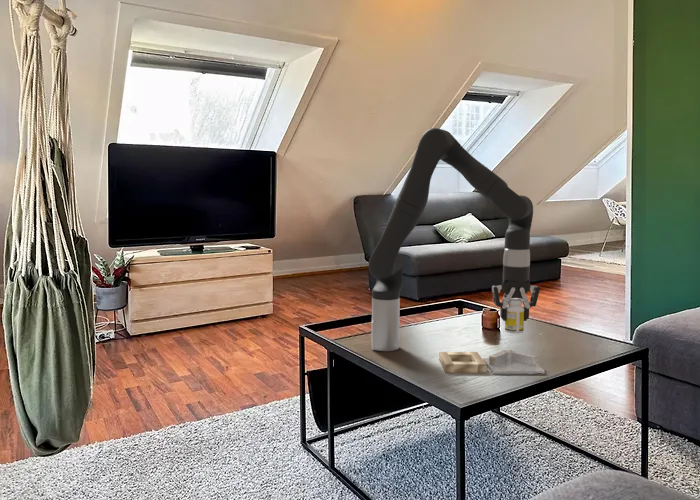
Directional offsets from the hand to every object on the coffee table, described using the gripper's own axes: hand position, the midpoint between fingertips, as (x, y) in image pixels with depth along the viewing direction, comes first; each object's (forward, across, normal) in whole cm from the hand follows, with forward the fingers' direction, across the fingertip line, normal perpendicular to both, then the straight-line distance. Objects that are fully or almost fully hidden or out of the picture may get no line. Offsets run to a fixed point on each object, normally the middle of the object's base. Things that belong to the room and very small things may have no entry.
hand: (514, 320), depth 168 cm
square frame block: (+15, -15, +2) cm, 21 cm away
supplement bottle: (+4, 0, 0) cm, 4 cm away
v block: (+15, 0, 0) cm, 15 cm away
